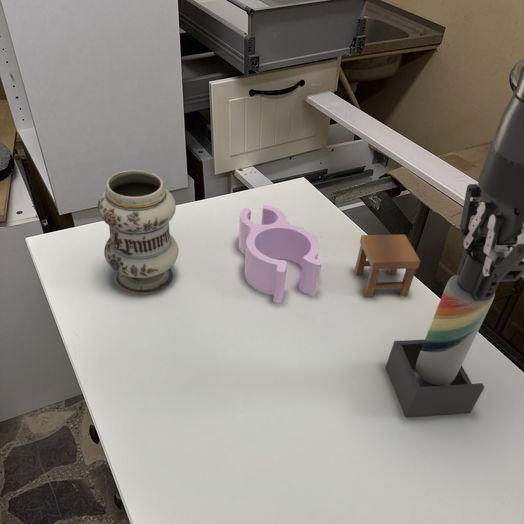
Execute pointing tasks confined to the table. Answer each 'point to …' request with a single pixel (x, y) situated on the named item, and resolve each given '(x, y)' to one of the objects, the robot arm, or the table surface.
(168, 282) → the apothecary jar
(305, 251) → the clip
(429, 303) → the table surface
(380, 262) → the stool
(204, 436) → the table surface
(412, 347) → the dark grey open box
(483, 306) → the lotion bottle
